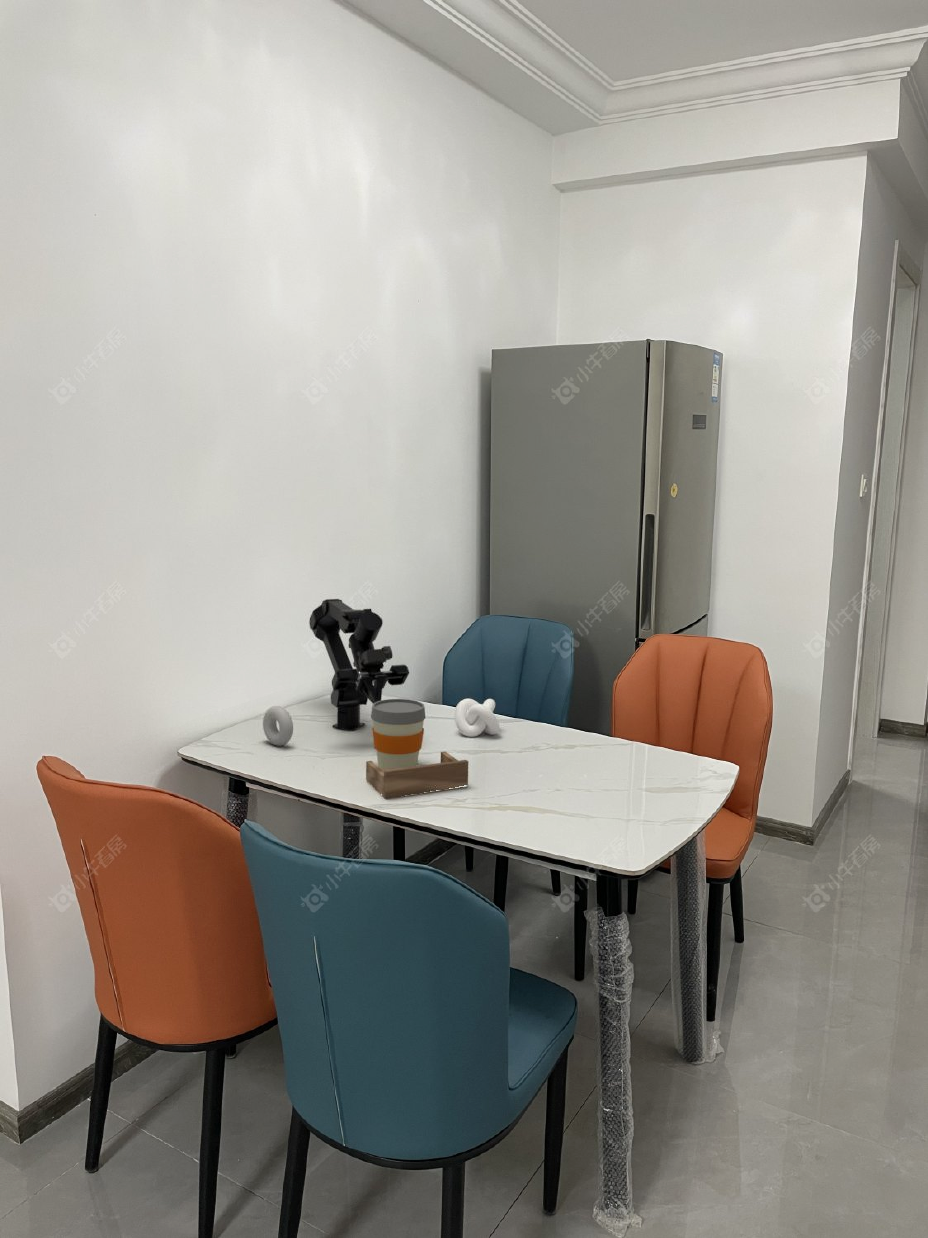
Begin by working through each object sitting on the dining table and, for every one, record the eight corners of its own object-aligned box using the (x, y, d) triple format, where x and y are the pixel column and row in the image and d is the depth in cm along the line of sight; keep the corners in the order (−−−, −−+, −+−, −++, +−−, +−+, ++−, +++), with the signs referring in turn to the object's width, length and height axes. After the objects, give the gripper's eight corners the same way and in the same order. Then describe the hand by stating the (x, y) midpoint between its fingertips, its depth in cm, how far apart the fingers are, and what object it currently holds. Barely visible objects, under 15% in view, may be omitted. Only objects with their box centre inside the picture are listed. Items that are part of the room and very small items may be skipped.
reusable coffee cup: (359, 767, 220) (359, 705, 217) (398, 755, 229) (399, 695, 226) (396, 781, 211) (397, 716, 208) (435, 768, 220) (436, 706, 218)
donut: (296, 748, 232) (296, 709, 230) (285, 751, 230) (284, 711, 228) (271, 739, 239) (270, 701, 237) (260, 742, 236) (259, 703, 234)
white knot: (459, 741, 241) (460, 707, 239) (449, 728, 252) (450, 695, 251) (502, 739, 244) (503, 706, 242) (490, 726, 255) (491, 694, 253)
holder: (366, 780, 211) (366, 754, 210) (445, 770, 219) (445, 745, 218) (385, 799, 200) (385, 772, 199) (467, 787, 208) (468, 761, 207)
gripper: (335, 637, 227) (349, 693, 219) (407, 633, 235) (423, 686, 227) (325, 662, 235) (339, 716, 228) (395, 657, 243) (410, 709, 235)
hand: (378, 706), depth 229 cm, fingers closed
